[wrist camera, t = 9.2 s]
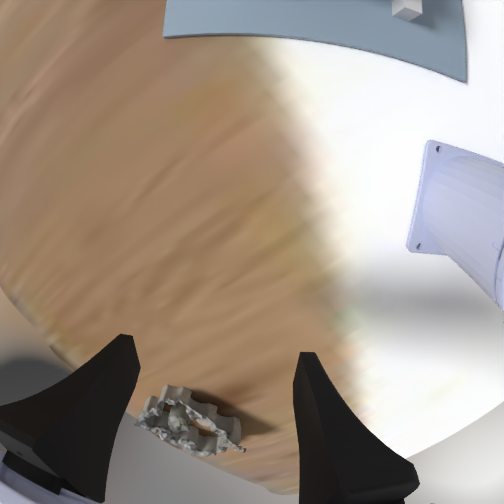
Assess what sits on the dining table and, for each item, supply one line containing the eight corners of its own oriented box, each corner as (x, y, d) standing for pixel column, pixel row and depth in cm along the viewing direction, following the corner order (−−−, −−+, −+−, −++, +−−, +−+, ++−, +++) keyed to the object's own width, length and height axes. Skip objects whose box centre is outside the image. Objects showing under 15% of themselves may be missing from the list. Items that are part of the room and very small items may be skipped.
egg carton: (252, 423, 29) (251, 453, 26) (207, 440, 32) (203, 467, 28) (177, 375, 26) (168, 408, 22) (137, 398, 28) (127, 426, 25)
